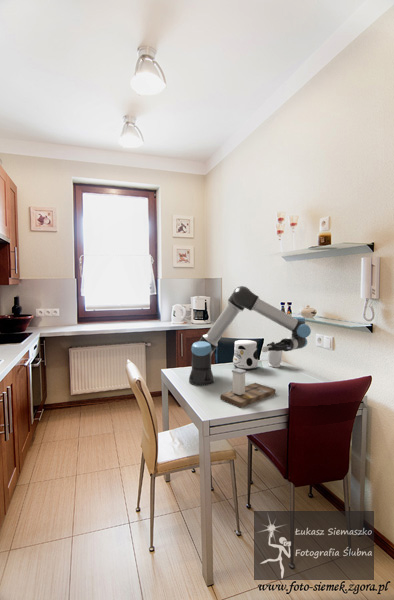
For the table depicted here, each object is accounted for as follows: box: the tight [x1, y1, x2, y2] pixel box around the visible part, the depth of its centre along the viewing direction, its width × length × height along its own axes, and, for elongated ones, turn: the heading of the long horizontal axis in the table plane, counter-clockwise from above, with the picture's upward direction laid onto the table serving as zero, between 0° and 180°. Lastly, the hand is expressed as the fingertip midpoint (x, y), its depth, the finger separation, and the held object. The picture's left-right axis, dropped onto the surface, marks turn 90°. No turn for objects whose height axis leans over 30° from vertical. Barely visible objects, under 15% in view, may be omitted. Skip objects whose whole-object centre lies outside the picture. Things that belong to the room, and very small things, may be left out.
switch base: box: [219, 382, 277, 408], centre depth 168 cm, size 28×14×3 cm, turn 130°
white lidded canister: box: [231, 367, 247, 395], centre depth 165 cm, size 5×6×12 cm
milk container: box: [232, 339, 259, 370], centre depth 221 cm, size 17×17×18 cm
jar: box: [267, 350, 283, 368], centre depth 225 cm, size 11×10×15 cm
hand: (263, 349), depth 175 cm, fingers closed
